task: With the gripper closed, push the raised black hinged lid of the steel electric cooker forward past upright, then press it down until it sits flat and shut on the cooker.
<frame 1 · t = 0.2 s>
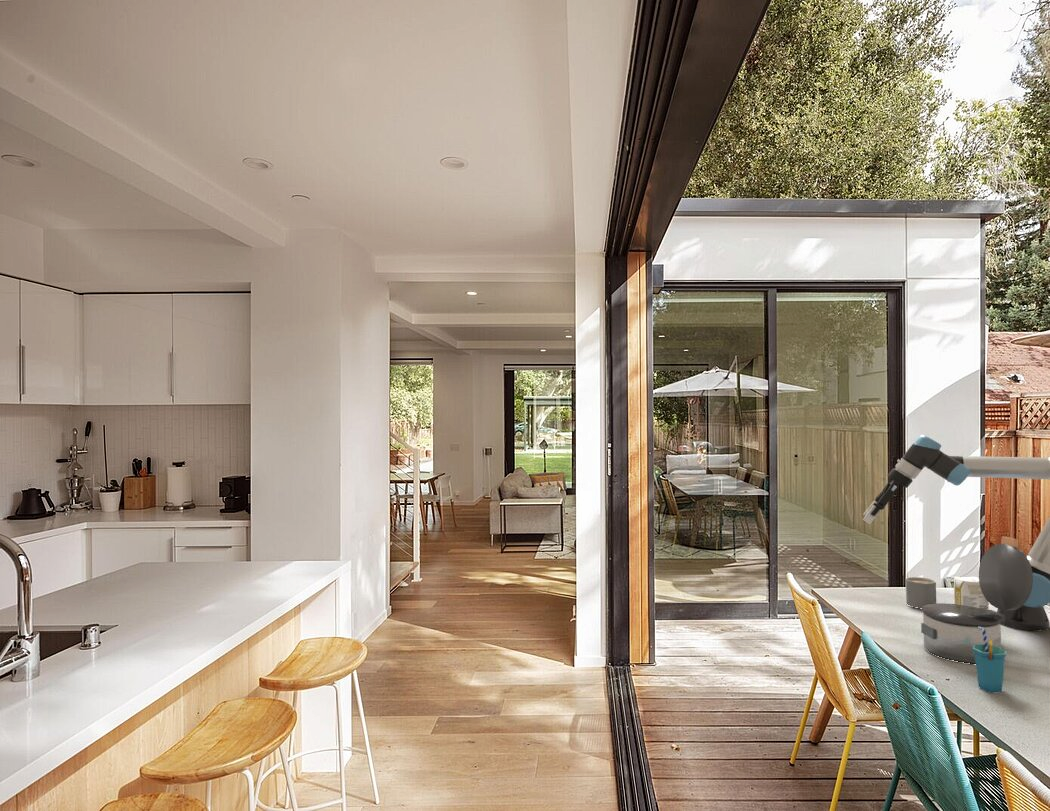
hand: (866, 519, 239), 36 cm above the table, tool tilted 35°, fingers open, 13 cm apart
cup: (989, 688, 176), on the table
cooker: (961, 653, 201), on the table
coffee mug: (921, 605, 251), on the table
cooker lid: (1007, 573, 201), point 25 cm above the table, hinge at 100.0°
juice carton: (971, 636, 216), on the table
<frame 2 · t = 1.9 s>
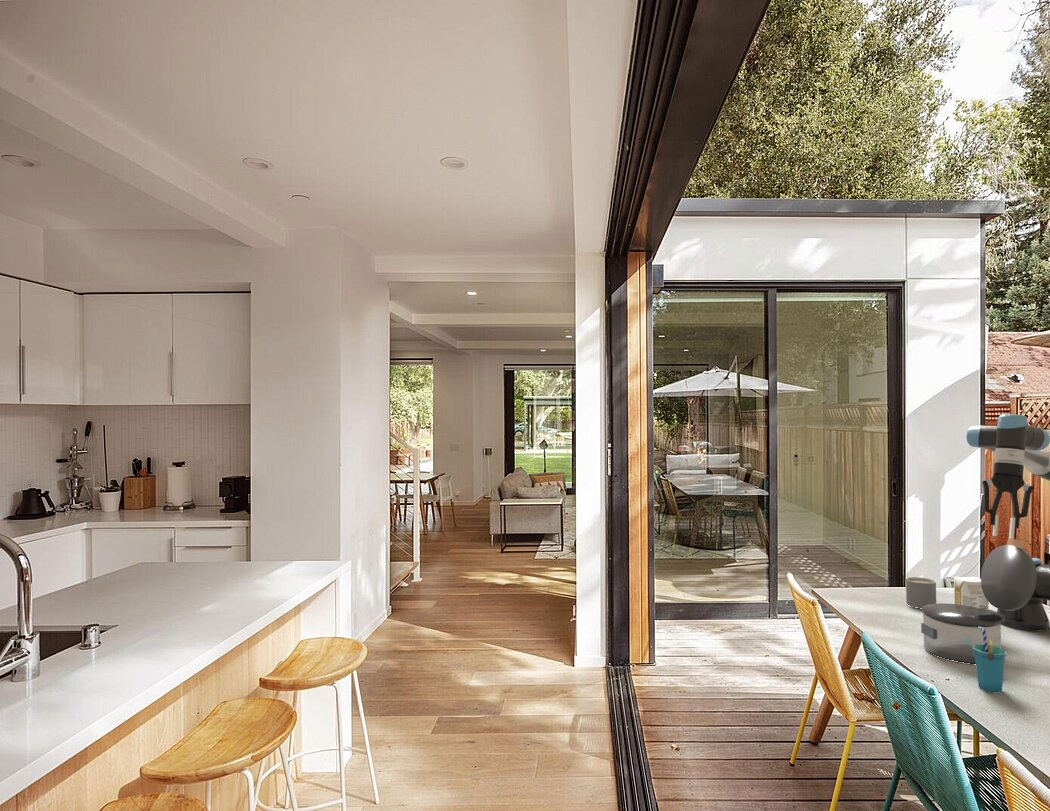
hand: (1003, 537, 202), 36 cm above the table, tool pointing down, fingers open, 4 cm apart
cooker lid: (1010, 574, 201), point 24 cm above the table, hinge at 105.0°, touching gripper
everything else where it was.
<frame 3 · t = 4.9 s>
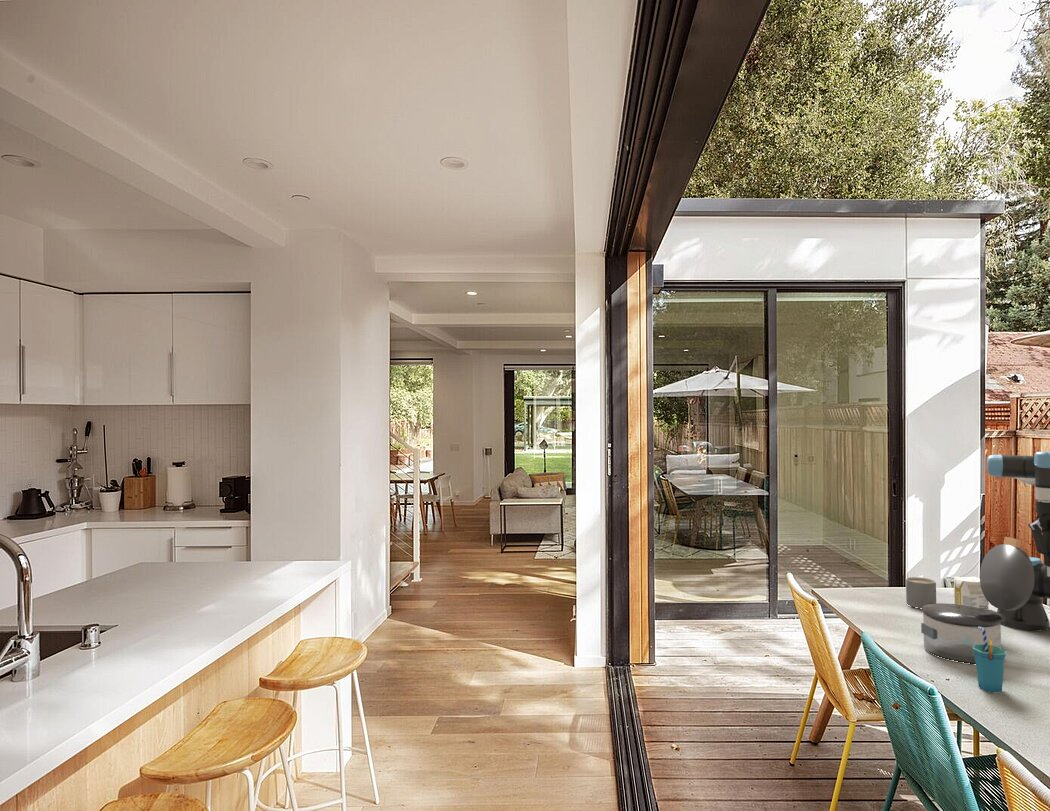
cooker lid: (1008, 574, 201), point 24 cm above the table, hinge at 102.2°
everything else where it was.
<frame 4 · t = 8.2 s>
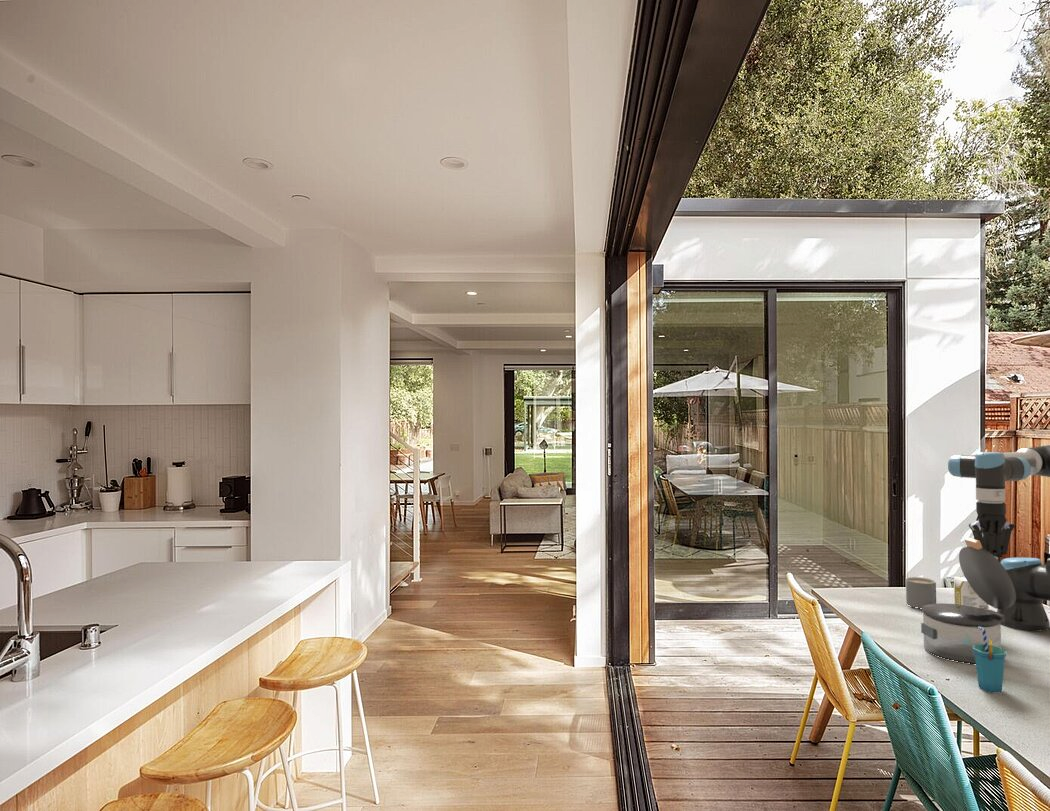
hand: (992, 577, 201), 24 cm above the table, tool pointing down, fingers closed
cooker lid: (987, 572, 201), point 25 cm above the table, hinge at 70.3°, touching gripper, hand
everything else where it was.
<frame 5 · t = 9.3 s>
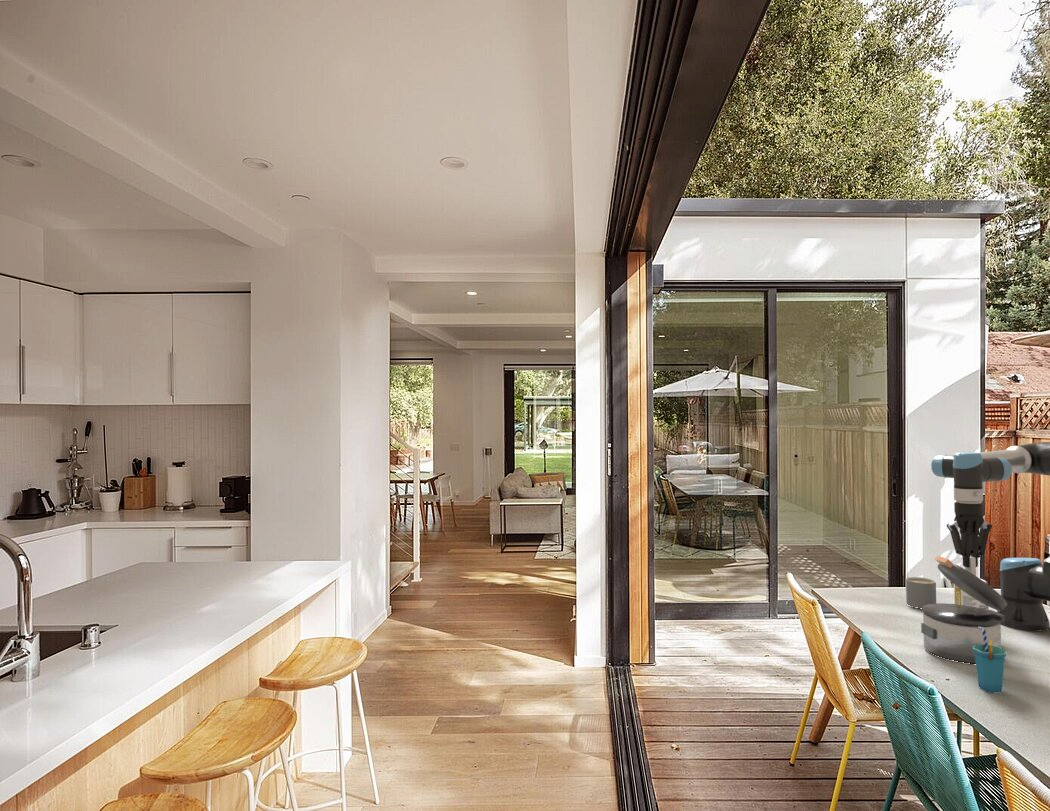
hand: (970, 577, 201), 24 cm above the table, tool pointing down, fingers closed
cooker lid: (970, 580, 201), point 22 cm above the table, hinge at 42.1°, touching gripper
everything else where it was.
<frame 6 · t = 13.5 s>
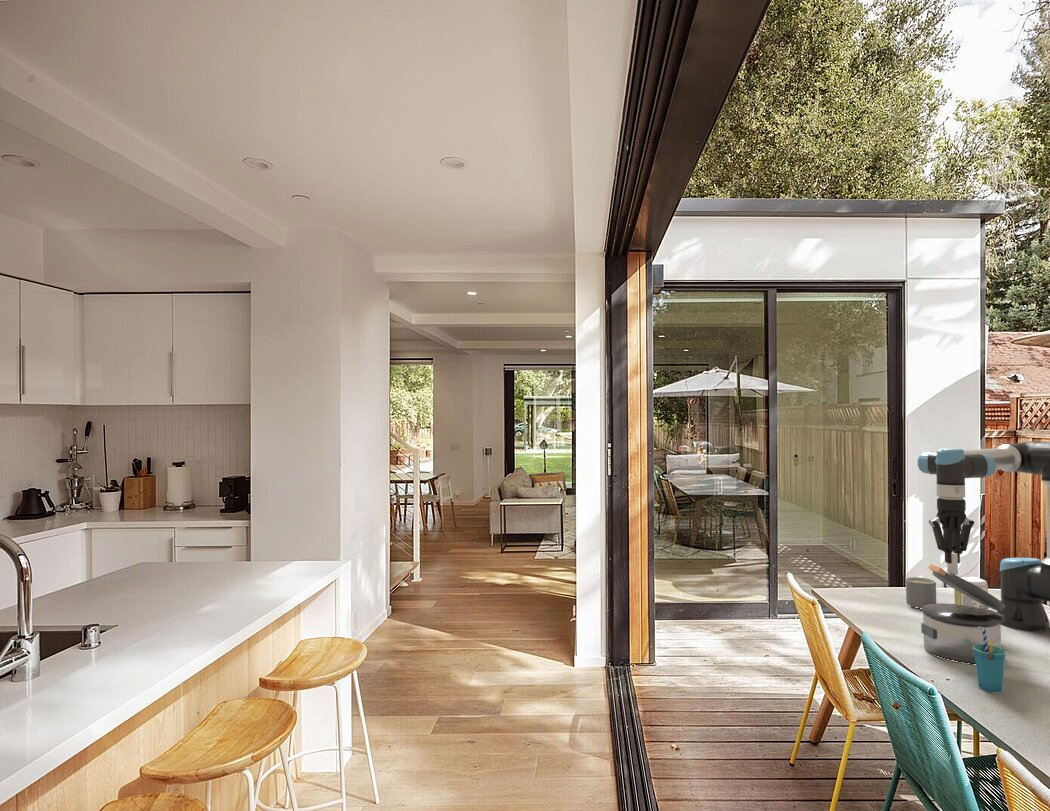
hand: (952, 573, 201), 25 cm above the table, tool pointing down, fingers closed
cooker lid: (965, 585, 201), point 21 cm above the table, hinge at 33.4°, touching gripper
everything else where it was.
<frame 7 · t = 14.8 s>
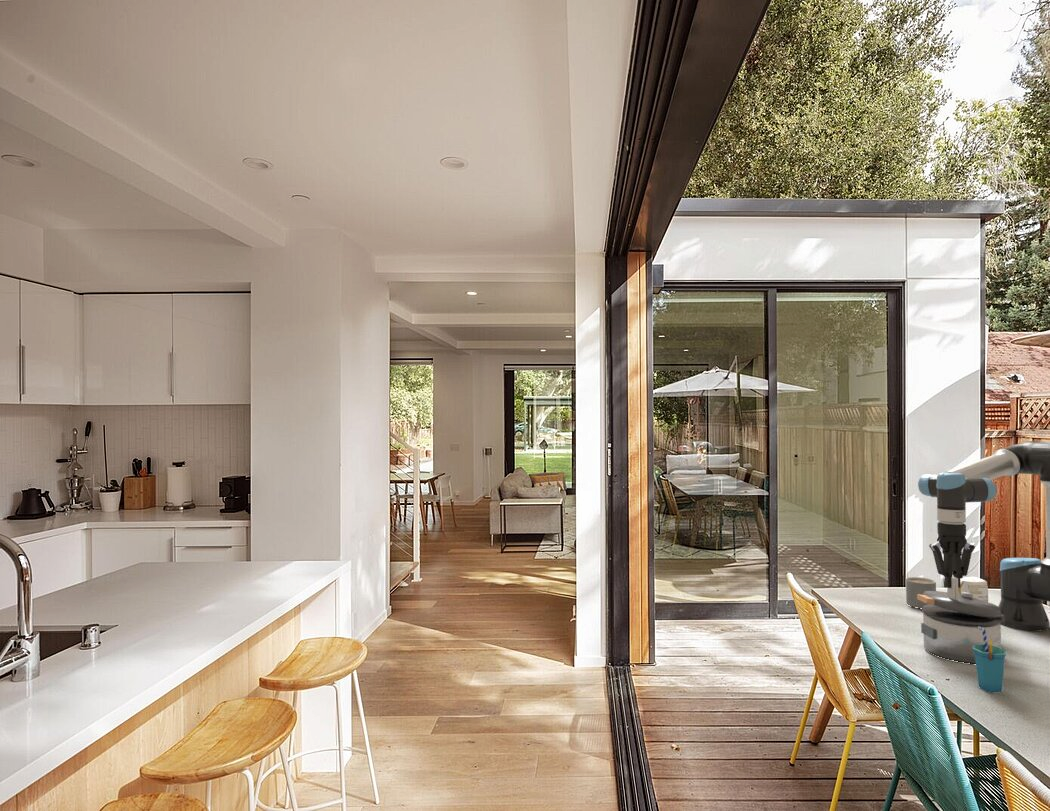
hand: (952, 598, 201), 17 cm above the table, tool pointing down, fingers closed
cooker lid: (957, 600, 201), point 16 cm above the table, hinge at 7.6°, touching gripper
everything else where it was.
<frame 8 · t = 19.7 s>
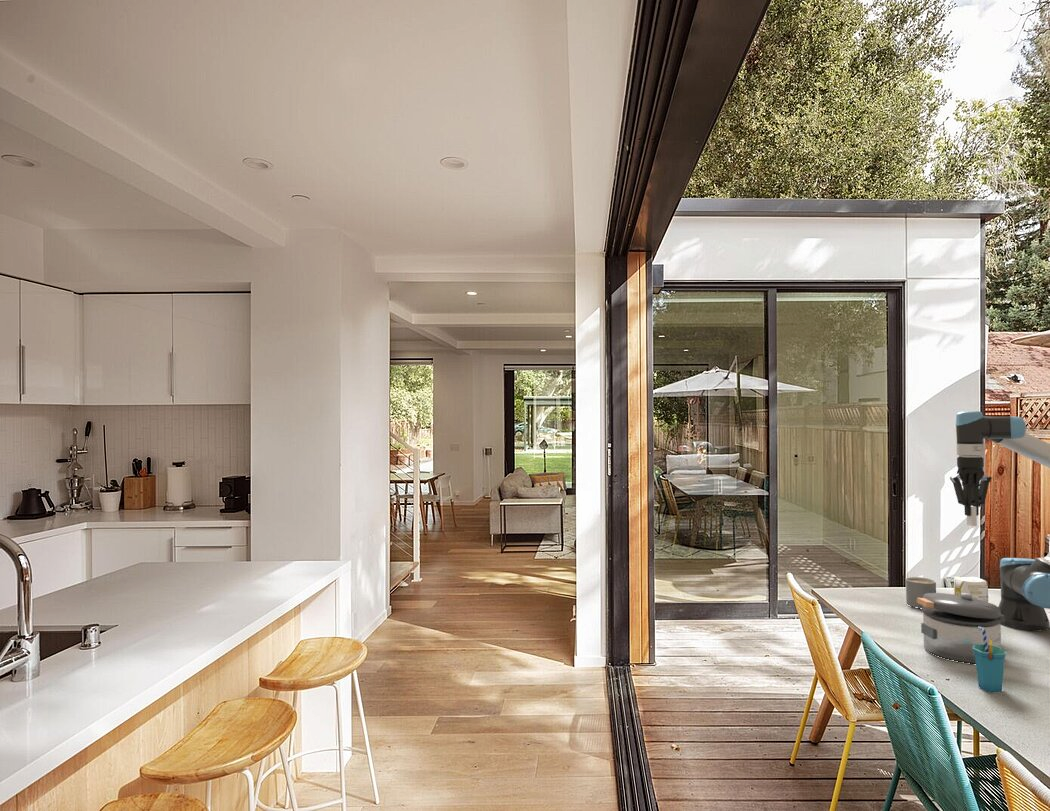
hand: (971, 525, 220), 36 cm above the table, tool pointing down, fingers closed
cooker lid: (957, 602, 201), point 16 cm above the table, hinge at 4.9°
everything else where it was.
at the end: cooker lid at +5° (first picture: +100°); juice carton moved 0.2 cm from its start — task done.
